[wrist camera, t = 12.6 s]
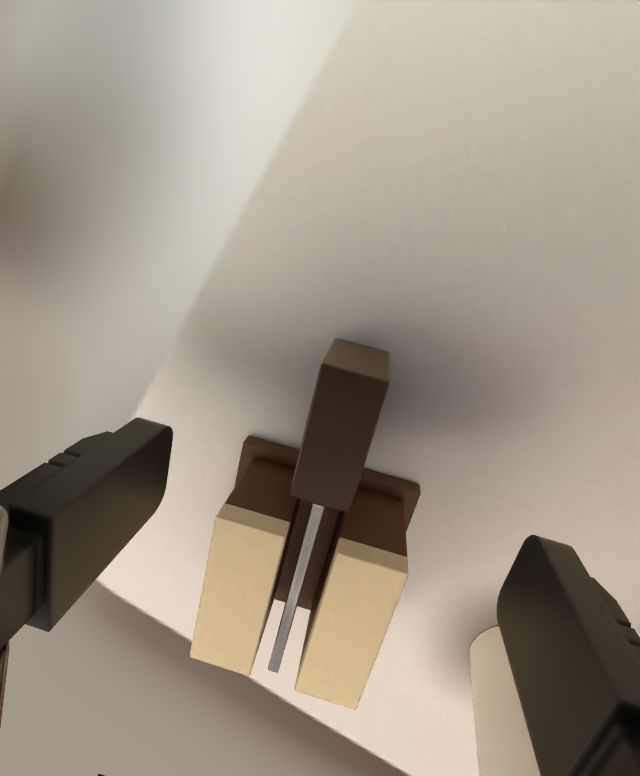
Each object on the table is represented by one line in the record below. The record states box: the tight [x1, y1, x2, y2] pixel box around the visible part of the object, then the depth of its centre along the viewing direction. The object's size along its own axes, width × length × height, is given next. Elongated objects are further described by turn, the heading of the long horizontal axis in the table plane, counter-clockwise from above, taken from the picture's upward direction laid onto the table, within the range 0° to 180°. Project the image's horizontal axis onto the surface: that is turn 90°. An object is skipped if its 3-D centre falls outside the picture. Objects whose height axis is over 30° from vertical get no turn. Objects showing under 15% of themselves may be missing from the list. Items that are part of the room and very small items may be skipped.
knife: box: [268, 338, 389, 673], centre depth 16 cm, size 12×2×4 cm, turn 167°
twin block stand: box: [190, 436, 420, 710], centre depth 16 cm, size 7×7×5 cm
